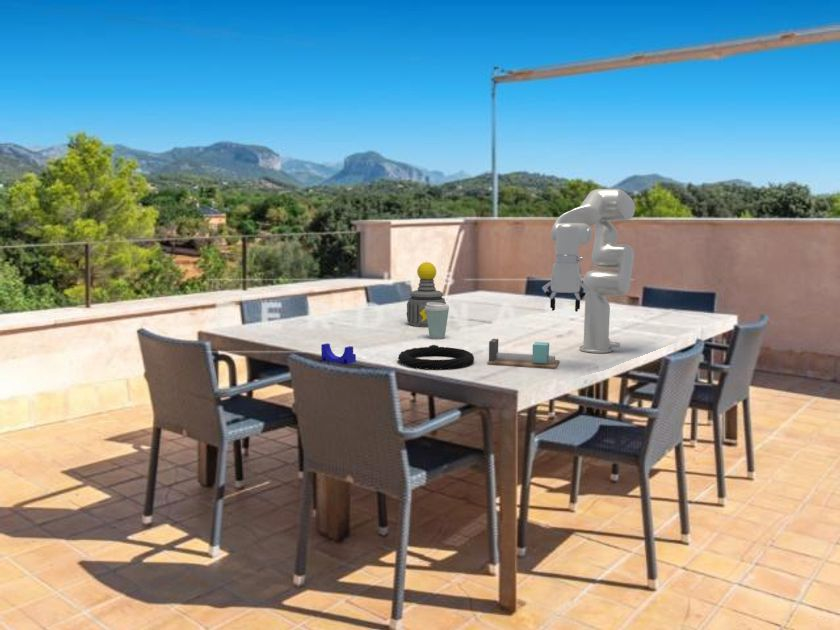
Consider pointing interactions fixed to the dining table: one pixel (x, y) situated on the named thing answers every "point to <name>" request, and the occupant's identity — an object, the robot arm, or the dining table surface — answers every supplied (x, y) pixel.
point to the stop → (493, 349)
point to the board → (524, 364)
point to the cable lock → (460, 361)
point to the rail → (521, 357)
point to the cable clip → (329, 356)
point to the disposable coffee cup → (437, 319)
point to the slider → (540, 352)
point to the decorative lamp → (423, 296)
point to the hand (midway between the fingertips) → (564, 310)
